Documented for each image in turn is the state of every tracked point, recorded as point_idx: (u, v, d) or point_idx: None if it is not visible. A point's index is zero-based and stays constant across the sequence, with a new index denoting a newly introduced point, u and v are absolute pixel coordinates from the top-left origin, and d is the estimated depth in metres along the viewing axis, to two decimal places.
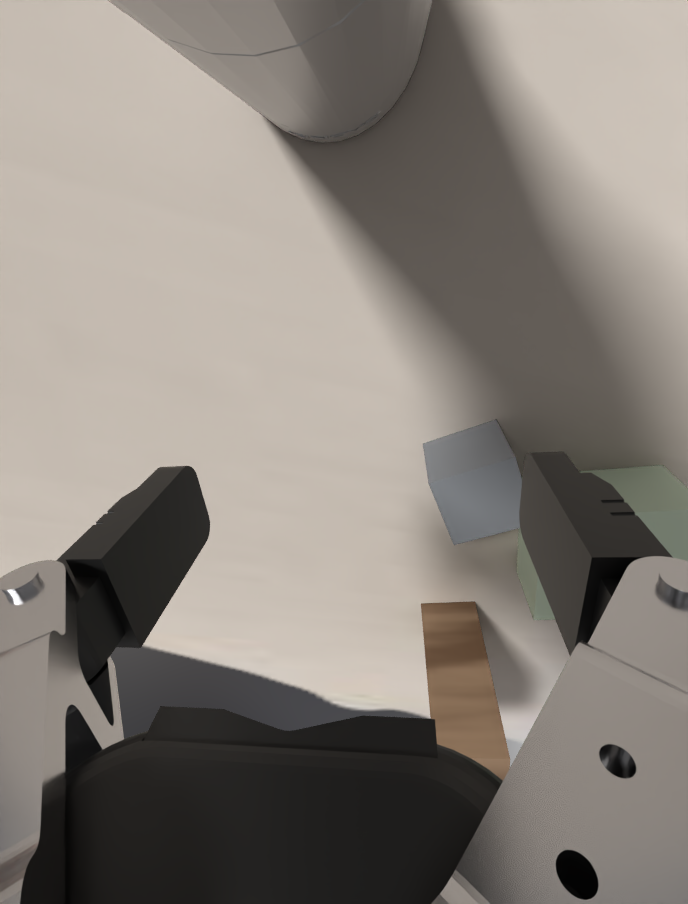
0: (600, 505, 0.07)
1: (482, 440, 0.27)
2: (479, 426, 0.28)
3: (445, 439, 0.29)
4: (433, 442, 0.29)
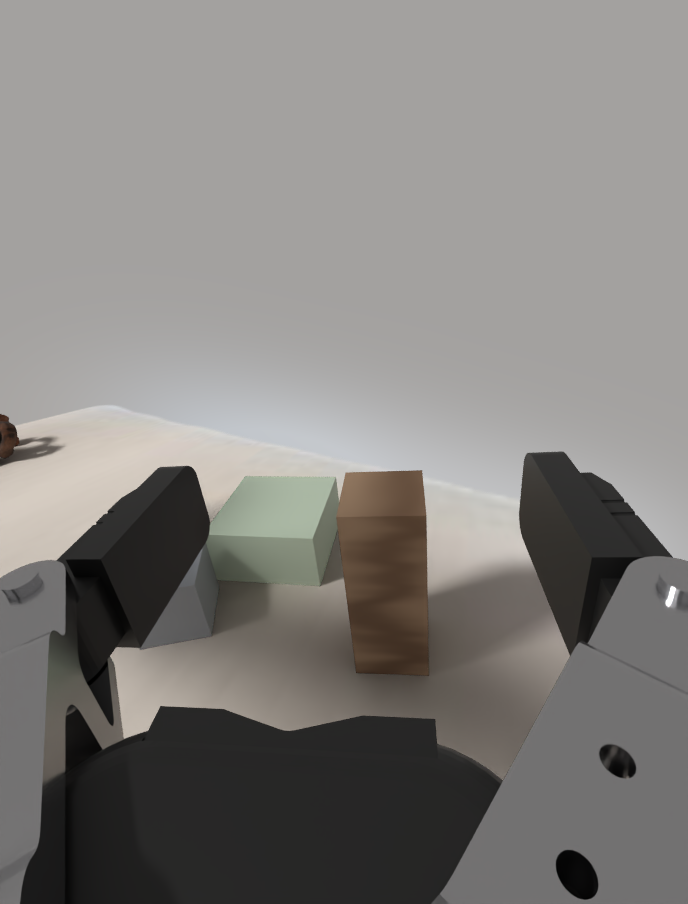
0: (600, 505, 0.07)
1: None
2: None
3: None
4: None
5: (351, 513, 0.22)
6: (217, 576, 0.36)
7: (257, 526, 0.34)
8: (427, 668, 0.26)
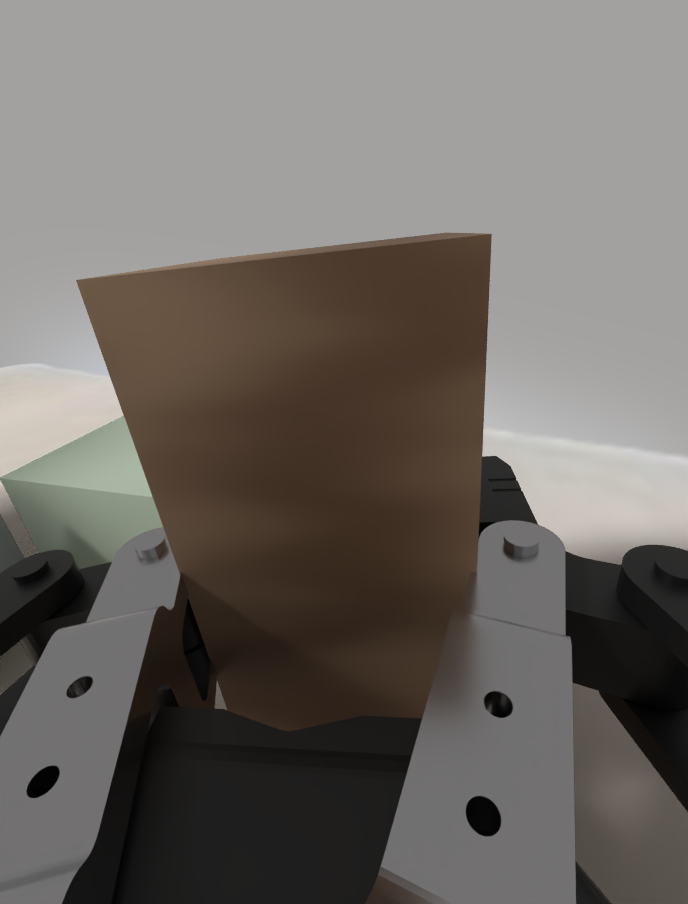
0: (485, 481, 0.08)
1: None
2: None
3: None
4: None
5: (151, 270, 0.05)
6: None
7: (99, 470, 0.18)
8: None
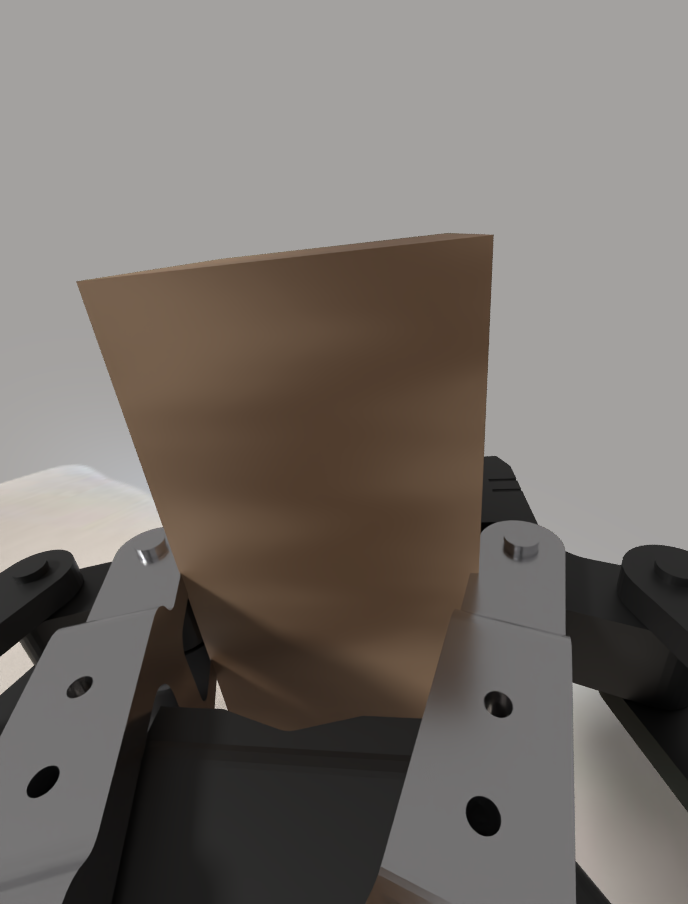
0: (485, 481, 0.08)
1: None
2: None
3: None
4: None
5: (151, 271, 0.05)
6: None
7: None
8: None
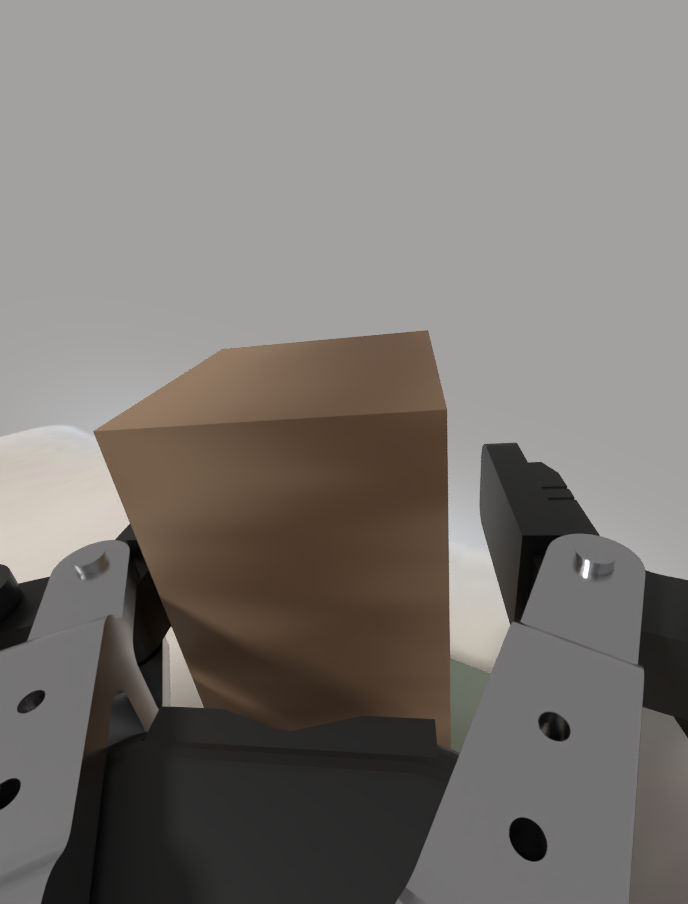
0: (539, 490, 0.08)
1: None
2: None
3: None
4: None
5: (157, 419, 0.06)
6: None
7: None
8: None
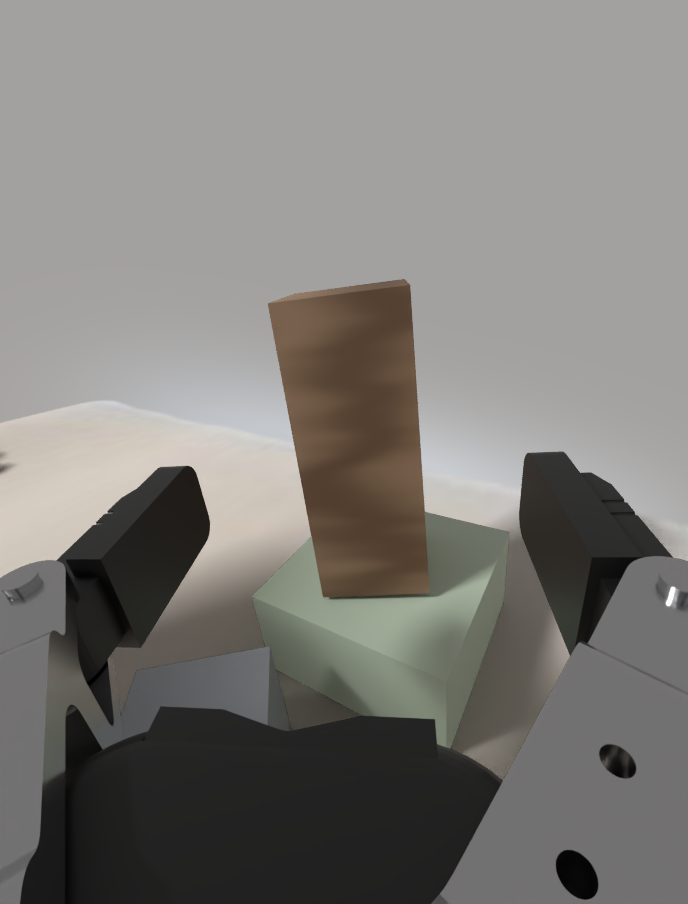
0: (600, 505, 0.07)
1: None
2: None
3: None
4: None
5: (292, 299, 0.14)
6: None
7: (344, 607, 0.18)
8: (427, 580, 0.18)
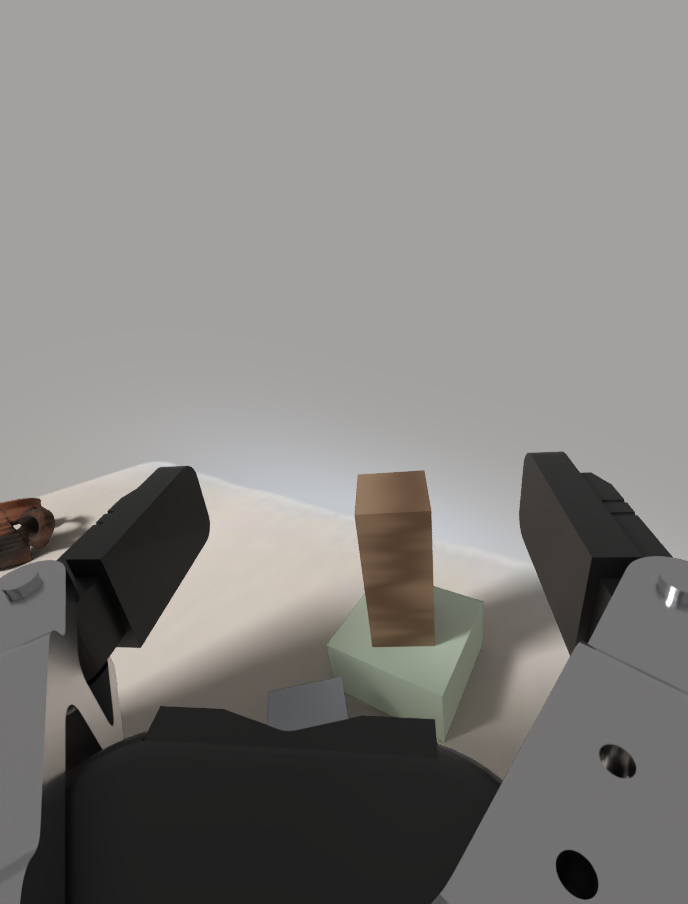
0: (600, 505, 0.07)
1: None
2: None
3: None
4: None
5: (367, 511, 0.26)
6: None
7: (383, 652, 0.31)
8: (433, 640, 0.31)
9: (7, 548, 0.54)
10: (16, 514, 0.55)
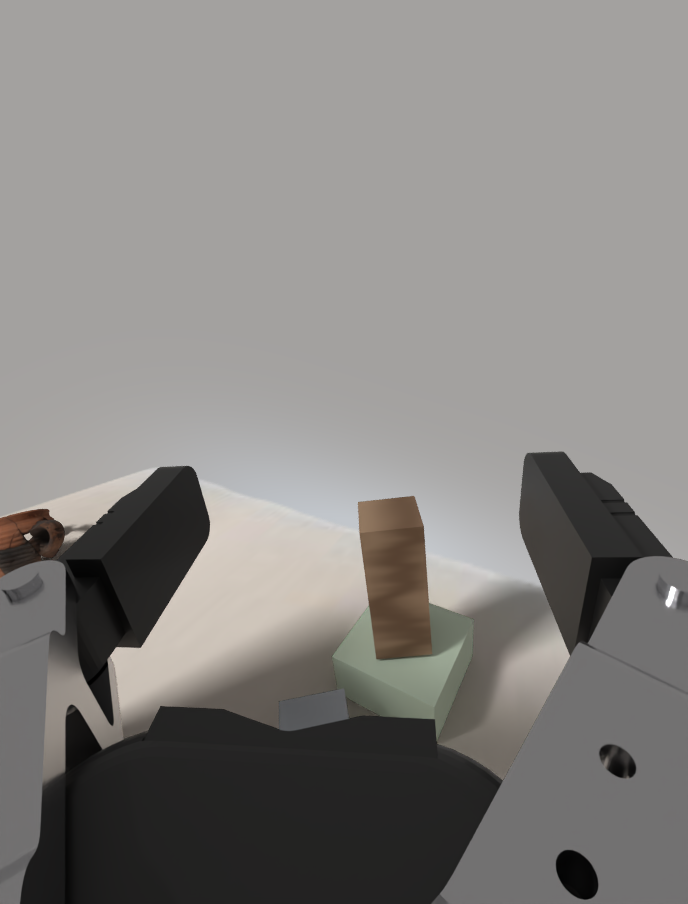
0: (600, 505, 0.07)
1: None
2: None
3: None
4: None
5: (370, 529, 0.31)
6: None
7: (383, 665, 0.35)
8: (430, 648, 0.34)
9: (19, 558, 0.57)
10: (27, 525, 0.58)
